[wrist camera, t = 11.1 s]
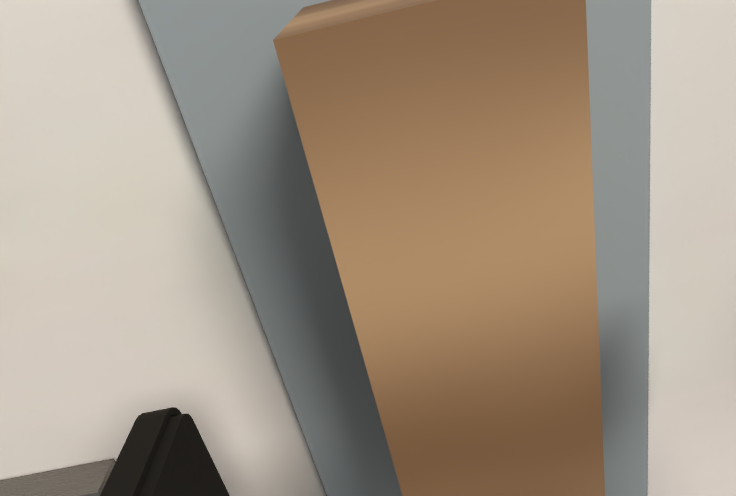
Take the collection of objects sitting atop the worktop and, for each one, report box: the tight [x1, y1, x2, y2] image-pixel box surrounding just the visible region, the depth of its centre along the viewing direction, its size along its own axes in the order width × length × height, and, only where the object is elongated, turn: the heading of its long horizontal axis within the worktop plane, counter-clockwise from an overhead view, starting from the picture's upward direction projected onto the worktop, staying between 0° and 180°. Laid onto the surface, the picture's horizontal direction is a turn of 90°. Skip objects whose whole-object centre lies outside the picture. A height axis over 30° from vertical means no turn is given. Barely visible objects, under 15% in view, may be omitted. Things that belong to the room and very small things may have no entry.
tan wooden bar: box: [273, 0, 605, 496], centre depth 10 cm, size 12×3×4 cm, turn 13°
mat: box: [138, 0, 651, 496], centre depth 12 cm, size 16×8×1 cm, turn 13°
